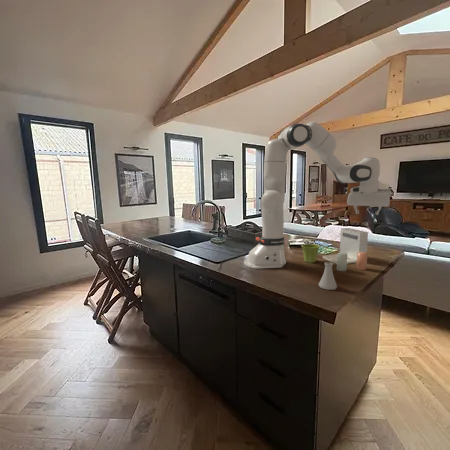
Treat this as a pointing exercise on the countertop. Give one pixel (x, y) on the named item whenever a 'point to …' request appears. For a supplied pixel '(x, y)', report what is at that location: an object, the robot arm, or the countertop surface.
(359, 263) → the terracotta part
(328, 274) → the flask
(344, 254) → the sage part
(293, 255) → the countertop surface
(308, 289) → the countertop surface
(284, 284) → the countertop surface
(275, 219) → the robot arm
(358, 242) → the service unit
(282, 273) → the countertop surface
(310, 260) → the plant pot
